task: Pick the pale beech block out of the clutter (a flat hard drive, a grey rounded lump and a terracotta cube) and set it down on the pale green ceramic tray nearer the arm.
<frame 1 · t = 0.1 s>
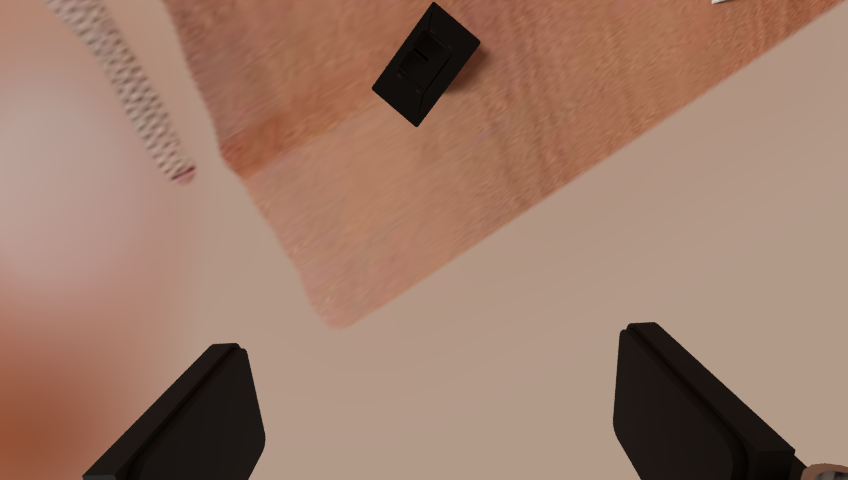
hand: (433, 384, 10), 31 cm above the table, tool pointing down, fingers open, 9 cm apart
black boxy piece: (425, 66, 38), on the table
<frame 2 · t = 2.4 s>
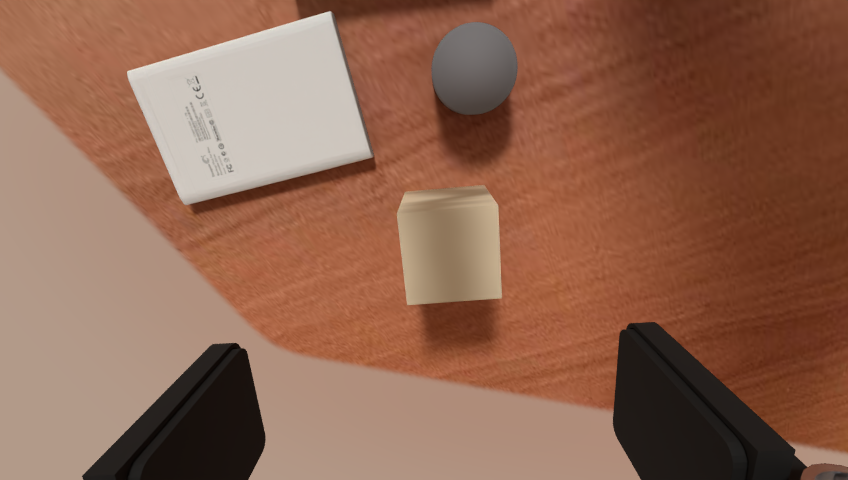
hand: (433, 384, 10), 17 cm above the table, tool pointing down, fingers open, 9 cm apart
beech block: (447, 226, 26), on the table
external hard drive: (262, 115, 25), on the table
grey rounded lump: (469, 75, 24), on the table
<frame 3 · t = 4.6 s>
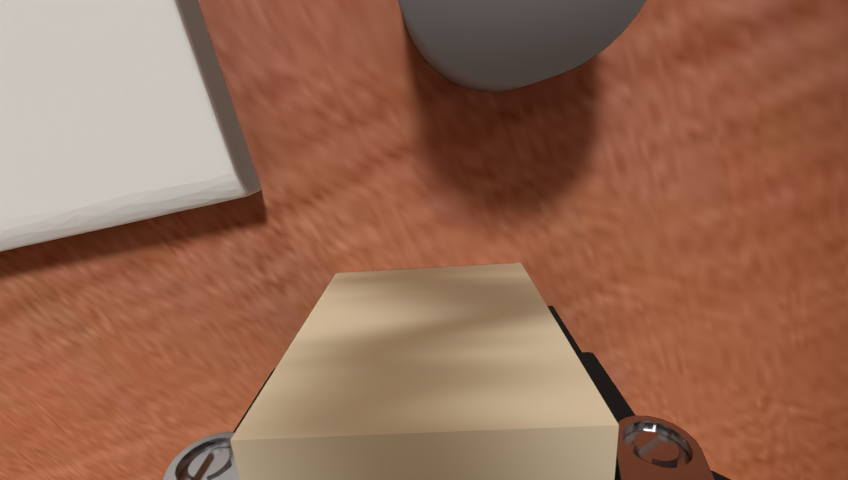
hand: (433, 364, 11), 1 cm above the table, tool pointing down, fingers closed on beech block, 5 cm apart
beech block: (433, 349, 12), on the table, touching gripper
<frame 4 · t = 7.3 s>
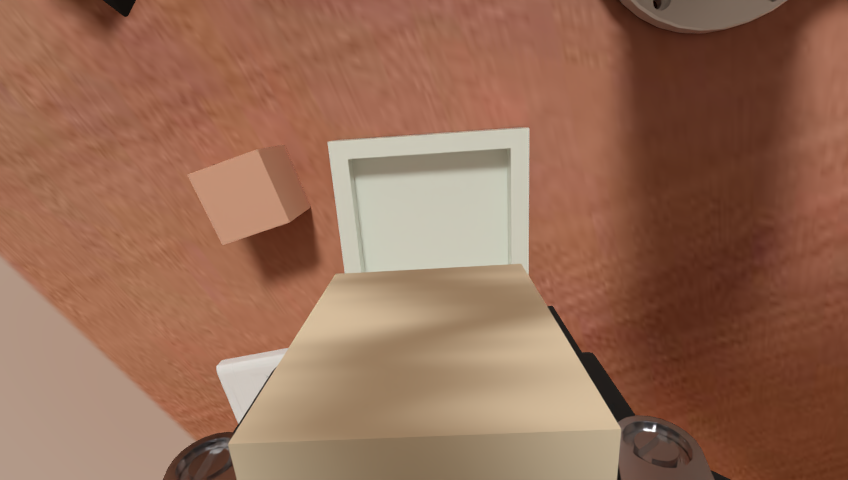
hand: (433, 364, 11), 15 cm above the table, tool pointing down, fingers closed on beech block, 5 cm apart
beech block: (433, 350, 12), point 14 cm above the table, touching gripper
external hard drive: (324, 387, 30), on the table
tray: (433, 224, 25), on the table
terracotta cube: (268, 186, 25), on the table
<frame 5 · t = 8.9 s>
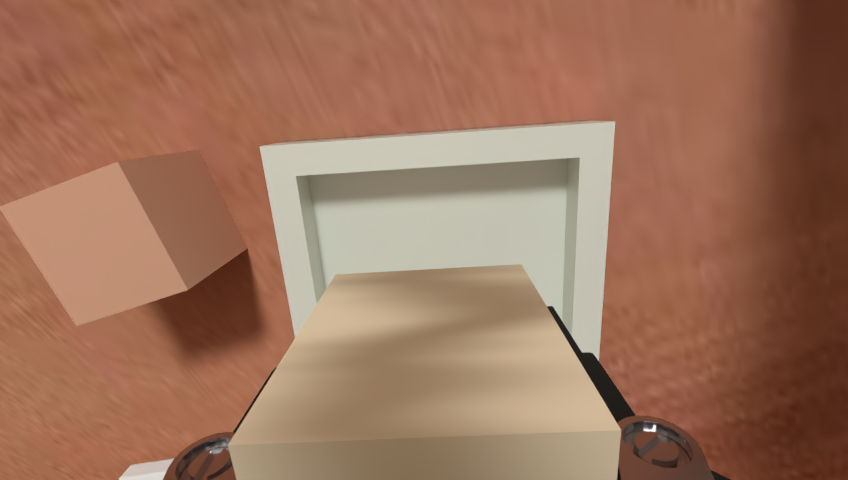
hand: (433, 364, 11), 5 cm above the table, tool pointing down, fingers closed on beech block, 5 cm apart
beech block: (433, 351, 12), point 5 cm above the table, touching gripper
tray: (442, 276, 16), on the table
terracotta cube: (179, 216, 16), on the table
when the fingers open (3 cm above the table, at t = 10.3 s): beech block drops 1 cm, resting on tray.
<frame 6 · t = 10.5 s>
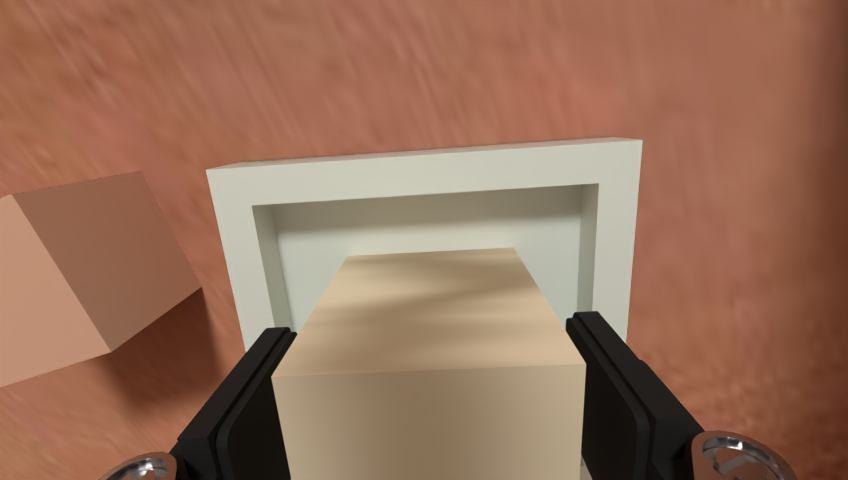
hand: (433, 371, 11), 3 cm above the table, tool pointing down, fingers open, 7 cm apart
beech block: (434, 326, 13), point 1 cm above the table, touching tray
tray: (433, 318, 13), on the table
terracotta cube: (119, 249, 13), on the table
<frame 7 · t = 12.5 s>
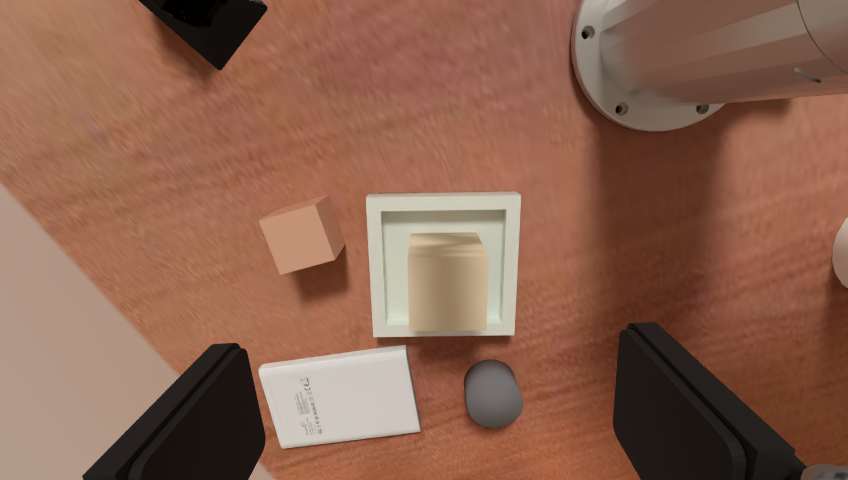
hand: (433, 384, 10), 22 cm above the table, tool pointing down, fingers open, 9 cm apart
beech block: (443, 263, 31), point 1 cm above the table, touching tray
external hard drive: (344, 389, 36), on the table
tray: (442, 261, 32), on the table
grey rounded lump: (489, 381, 35), on the table
terracotta cube: (312, 226, 31), on the table
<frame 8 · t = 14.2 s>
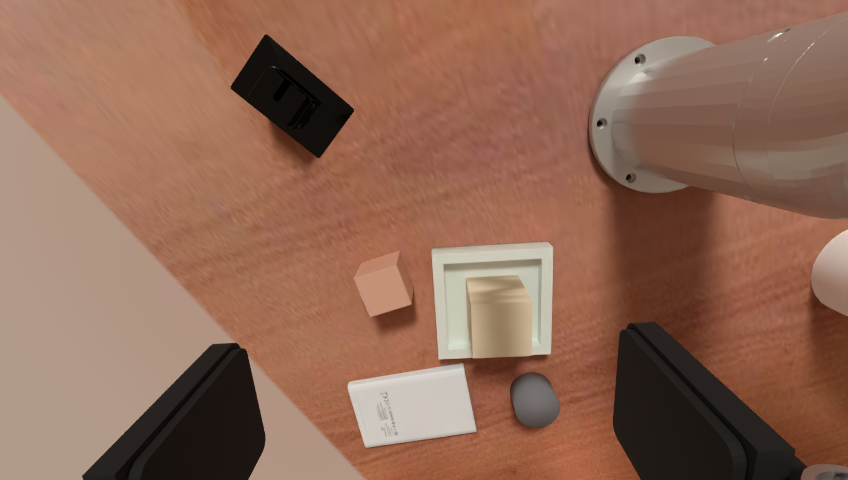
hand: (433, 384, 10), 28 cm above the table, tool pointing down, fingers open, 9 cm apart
beech block: (492, 300, 40), point 1 cm above the table, touching tray
black boxy piece: (296, 99, 36), on the table
external hard drive: (413, 399, 45), on the table
tray: (490, 297, 40), on the table
grey rounded lump: (530, 389, 43), on the table
terracotta cube: (387, 274, 40), on the table
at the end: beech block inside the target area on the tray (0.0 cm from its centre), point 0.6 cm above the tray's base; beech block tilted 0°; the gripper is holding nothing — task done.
